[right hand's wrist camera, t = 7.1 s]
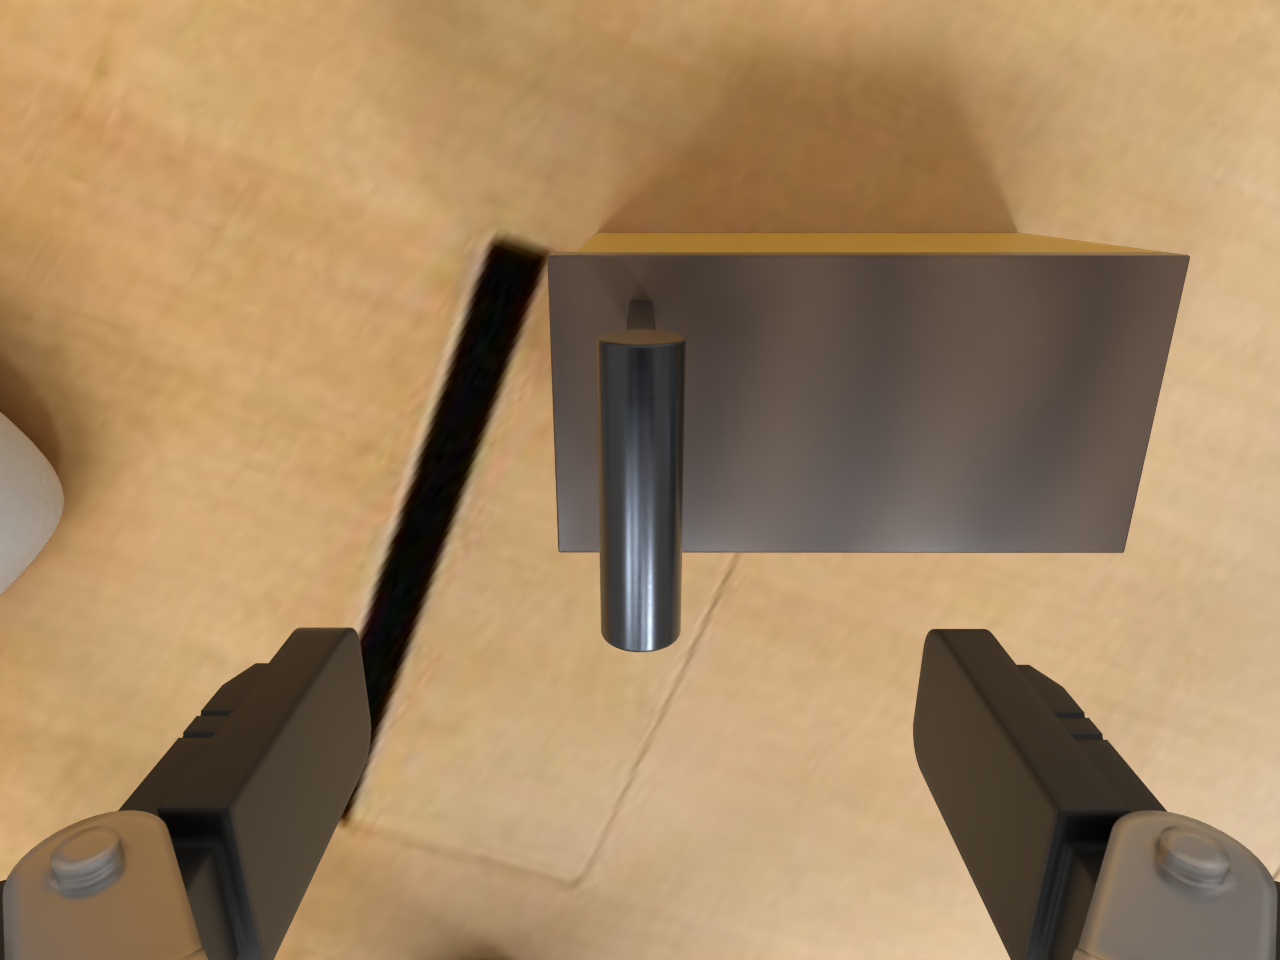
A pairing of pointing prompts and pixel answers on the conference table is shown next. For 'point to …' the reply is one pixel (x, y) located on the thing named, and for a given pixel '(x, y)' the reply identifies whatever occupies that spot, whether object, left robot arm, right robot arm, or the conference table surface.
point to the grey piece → (24, 502)
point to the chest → (841, 243)
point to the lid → (846, 407)
